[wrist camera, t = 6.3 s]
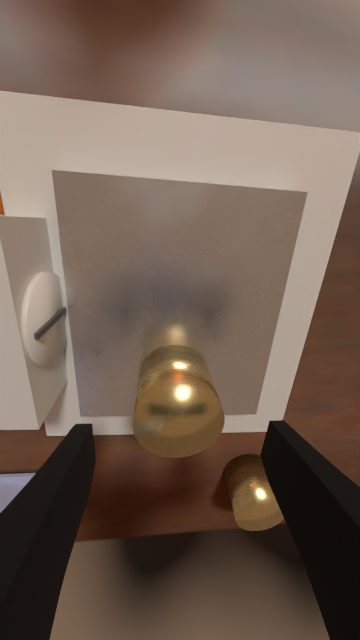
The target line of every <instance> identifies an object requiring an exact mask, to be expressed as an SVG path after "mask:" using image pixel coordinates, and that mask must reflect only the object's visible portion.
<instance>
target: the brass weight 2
mask: <svg viewBox="0 0 360 640" xmlns="http://www.w3.org/2000/svg"><path fill="white" fill-rule="evenodd" d="M224 478H225V481H226V485H227V489H228V493H229V497H230V501H231V504H232V508H233V512H234V516H235V520H236V523H237V525H238V526H239V527H240V528H242V529H245V530H249V531H260V530H265V529H268V528H271V527H273V526H275V525H277V524H278V523H279V522H281V521H282V520H283V519H284V517H283V515H282V512H281V510H280V508H279V506H278V503H277V501H276V499H275V496H274V494H273V492H272V489H271V487H270V485H269V482H268V479H267V476H266V473H265V470H264V466H263V463H262V460H261V456H259V455H255V454H245V455H241V456H238V457H236V458H234V459H232V460H231V461H230V462H229V463H228V464H227V465H226V466H225V468H224Z"/></svg>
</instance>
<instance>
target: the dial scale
mask: <svg viewBox="0 0 360 640" xmlns="http://www.w3.org/2000/svg"><path fill="white" fill-rule="evenodd" d="M359 152H360V132H352V131H344V130H335V129H326V128H318V127H309V126H300V125H292V124H283V123H275V122H266V121H257V120H249V119H240V118H231V117H223V116H214V115H205V114H197V113H188V112H179V111H171V110H162V109H153V108H145V107H136V106H128V105H119V104H110V103H102V102H93V101H84V100H76V99H67V98H58V97H50V96H41V95H32V94H24V93H15V92H7V91H0V191H1V196H2V201H3V207H4V212H5V215H0V430H31V429H40V427H41V425H42V423H43V422H44V423H45V428H46V434H47V436H66V435H67V434H68V432H69V431H70V430H71V428H72V427H73V426H74V425H75V424H92V428H93V435H121V434H134V432H133V419H134V416H84V417H80V410H79V402H78V393H77V384H76V376H75V367H74V358H73V350H72V341H71V332H70V324H69V315H68V307H67V298H66V289H65V281H64V272H63V263H62V255H61V246H60V238H59V229H58V220H57V212H56V203H55V194H54V186H53V177H52V170H60V171H71V172H83V173H95V174H106V175H118V176H129V177H141V178H152V179H164V180H175V181H187V182H198V183H210V184H222V185H233V186H245V187H256V188H268V189H279V190H291V191H302V192H308V193H307V197H306V202H305V206H304V210H303V215H302V219H301V223H300V228H299V232H298V236H297V240H296V245H295V249H294V253H293V258H292V262H291V266H290V271H289V275H288V279H287V284H286V288H285V292H284V297H283V301H282V305H281V309H280V314H279V318H278V322H277V327H276V331H275V335H274V340H273V344H272V348H271V353H270V357H269V361H268V365H267V370H266V374H265V378H264V383H263V387H262V391H261V396H260V400H259V404H258V409H257V413H256V414H255V415H224V417H225V422H224V427H223V430H222V433H224V432H267V428H268V425H269V421H279V420H283V416H284V413H285V409H286V406H287V402H288V399H289V395H290V392H291V388H292V385H293V382H294V378H295V375H296V371H297V368H298V364H299V361H300V357H301V354H302V350H303V347H304V343H305V340H306V336H307V333H308V329H309V326H310V322H311V319H312V315H313V312H314V308H315V305H316V301H317V298H318V294H319V291H320V288H321V284H322V281H323V277H324V274H325V270H326V267H327V263H328V260H329V256H330V253H331V249H332V246H333V242H334V239H335V235H336V232H337V228H338V225H339V221H340V218H341V214H342V211H343V207H344V204H345V200H346V197H347V193H348V190H349V187H350V183H351V180H352V176H353V173H354V169H355V166H356V162H357V159H358V155H359Z"/></svg>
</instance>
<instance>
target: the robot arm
mask: <svg viewBox="0 0 360 640" xmlns="http://www.w3.org/2000/svg"><path fill="white" fill-rule="evenodd" d="M260 456H261V460H262V463H263V466H264V470H265V473H266V476H267V479H268V482H269V485H270V487H271V489H272V492H273V494H274V496H275V499H276V501H277V503H278V506H279V508H280V510H281V512H282V515H283V517H284V519H285V521H286V524H287V526H288V528H289V530H290V533H291V535H292V537H293V540H294V542H295V544H296V546H297V549H298V551H299V553H300V556H301V558H302V561H303V563H304V566H305V568H306V571H307V574H308V577H309V579H310V582H311V585H312V588H313V591H314V594H315V597H316V599H317V602H318V605H319V608H320V611H321V614H322V617H323V620H324V623H325V626H326V629H327V632H328V635H329V638H330V640H360V487H359V486H357V485H356V484H355V483H354V482H352V481H351V480H350V479H349V478H348V477H346V476H345V475H344V474H343V473H342V472H341V471H339V470H338V469H337V468H336V467H335V466H334V465H332V464H331V463H330V462H329V461H328V460H327V459H326V458H325V457H323V456H322V455H321V454H320V453H319V452H318V451H317V450H316V449H314V448H313V447H312V446H311V445H310V444H309V443H308V442H307V441H306V440H305V439H304V438H302V437H301V436H300V435H299V434H298V433H297V432H296V431H295V430H294V429H293V428H291V427H290V426H289V425H288V424H287V423H286V422H285V421H283V420H279V421H269V425H268V428H267V432H266V436H265V440H264V444H263V448H262V452H261V455H260ZM95 462H96V460H95V449H94V439H93V428H92V424H75V425H74V426H73V427H72V428H71V430H70V431H69V432H68V434H67V435H66V436H65V438H64V439H63V440H62V442H61V443H60V444H59V445H58V447H57V448H56V449H55V450H54V452H53V453H52V454H51V456H50V457H49V458H48V459H47V460H46V462H45V463H44V464H43V465H42V466H41V468H40V469H39V470H38V471H37V472H36V473H15V474H0V640H49V639H50V634H51V629H52V625H53V621H54V617H55V612H56V608H57V603H58V599H59V595H60V590H61V586H62V583H63V579H64V575H65V572H66V568H67V565H68V561H69V558H70V554H71V551H72V548H73V545H74V541H75V538H76V535H77V532H78V528H79V525H80V522H81V518H82V515H83V512H84V508H85V505H86V502H87V498H88V495H89V491H90V487H91V482H92V477H93V472H94V467H95Z"/></svg>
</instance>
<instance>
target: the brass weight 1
mask: <svg viewBox="0 0 360 640" xmlns="http://www.w3.org/2000/svg"><path fill="white" fill-rule="evenodd" d="M224 422H225V417H224V412H223V409H222V406H221V403H220V400H219V397H218V395H217V392H216V389H215V386H214V383H213V380H212V377H211V375H210V372H209V369H208V366H207V363H206V361H205V360H204V358H203V357H202V356H201V354H199V353H198V352H197V351H195V350H194V349H192V348H190V347H187V346H183V345H168V346H164V347H161V348H158V349H156V350H154V351H153V352H151V353H150V354H149V355H148V356H147V357H146V358H145V359H144V360H143V362H142V364H141V366H140V369H139V375H138V384H137V393H136V402H135V410H134V419H133V432H134V435H135V437H136V439H137V441H138V442H139V444H140V445H141V446H142V447H143V448H145V449H146V450H147V451H149V452H151V453H153V454H155V455H158V456H162V457H168V458H181V457H187V456H191V455H195V454H197V453H200V452H202V451H204V450H205V449H207V448H208V447H210V446H211V445H212V444H213V443H214V442H215V441H216V440H217V439H218V438H219V436H220V434H221V433H222V430H223V427H224Z"/></svg>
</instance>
